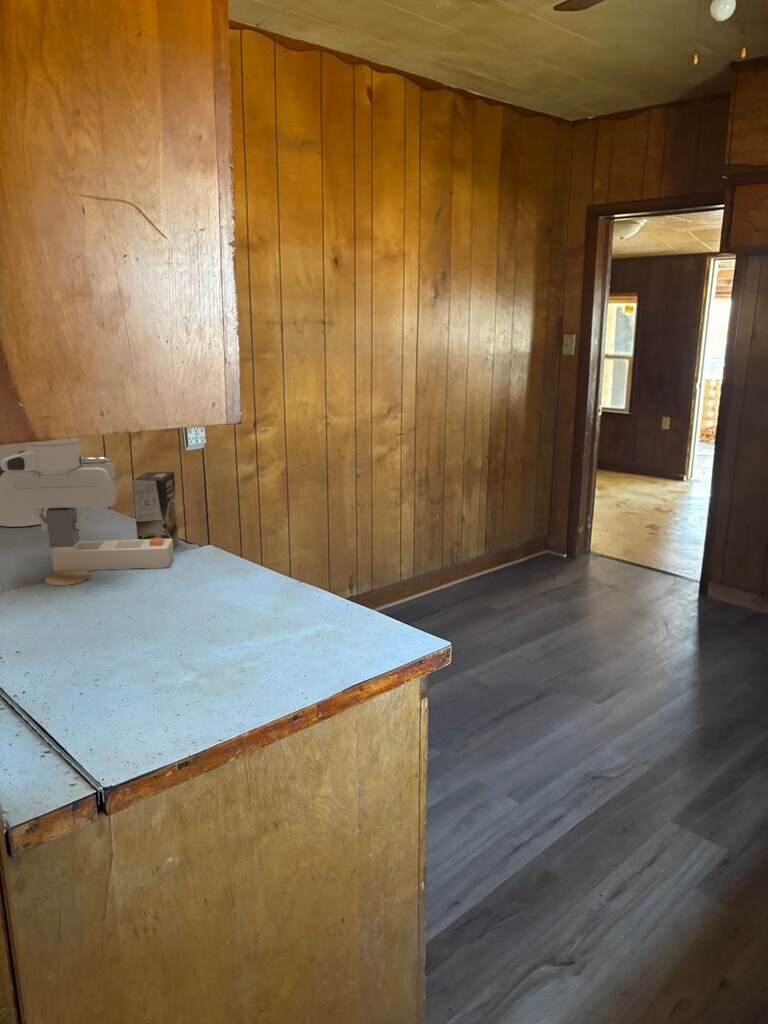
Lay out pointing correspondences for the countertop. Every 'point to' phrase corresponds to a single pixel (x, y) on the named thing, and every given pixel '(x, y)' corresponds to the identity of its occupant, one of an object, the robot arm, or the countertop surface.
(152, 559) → the power strip
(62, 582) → the coaster
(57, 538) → the block
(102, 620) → the countertop surface
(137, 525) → the coffee box
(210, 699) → the countertop surface
